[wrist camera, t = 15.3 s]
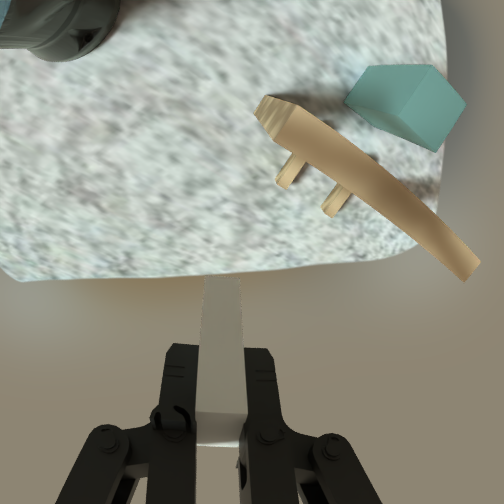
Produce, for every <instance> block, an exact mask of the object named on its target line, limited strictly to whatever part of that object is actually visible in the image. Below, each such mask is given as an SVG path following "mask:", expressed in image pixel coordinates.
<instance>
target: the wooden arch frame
mask: <svg viewBox="0 0 504 504" xmlns="http://www.w3.org/2000/svg"><path fill="white" fill-rule="evenodd" d="M254 115H255V116H256V117H257V119H258V120H259V122H260V123H261V124H262V126H263V127H264V129H265V130H266V131H267V133H268V134H269V136H270V137H271V138H272V140H273V141H274V142H276V143H277V144H279V145H280V146H282V147H284V148H285V149H287V150H289V151H290V152H292V154H291V156H290V157H289V159H288V160H287V162H286V163H285V165H284V166H283V168H282V169H281V171H280V172H279V174H278V175H277V177H276V178H275V181H276V183H277V185H279V186H281V187H282V188H284V189H286V190H287V188H288V187H289V185H290V184H291V182H292V181H293V179H294V178H295V177H296V175H297V174H298V172H299V171H300V169H301V168H302V166H303V165H304V163H305V162H307V163H309V164H310V165H312V166H314V167H315V168H317V169H318V170H320V171H321V172H323V173H324V174H326V175H327V176H329V177H330V178H331V179H333V180H334V181H336V182H337V185H336V186H335V187H334V189H333V190H332V191H331V193H330V194H329V196H328V197H327V198H326V200H325V201H324V202H323V204H322V205H321V209H322V210H323V212H324V213H325V214H326V215H328V216H330V217H331V218H333V217H334V215H335V214H336V213H337V211H338V210H339V209H340V207H341V206H342V205H343V203H344V202H345V201H346V199H347V198H348V197H349V195H350V194H351V193H353V194H354V195H356V196H357V197H359V198H360V199H361V200H363V201H364V202H366V203H367V204H368V205H370V206H371V207H372V208H374V209H375V210H376V211H378V212H379V213H380V214H382V215H383V216H384V217H386V218H387V219H388V220H390V221H391V222H392V223H393V224H395V225H396V226H397V227H399V228H400V229H401V230H402V231H404V232H405V233H406V234H407V235H409V236H410V237H411V238H412V239H414V240H415V241H416V242H417V243H419V244H420V245H421V246H422V247H423V248H425V249H426V250H427V251H428V252H429V253H431V254H432V255H433V256H434V257H436V258H437V259H438V260H439V261H440V262H441V263H442V264H444V265H445V266H446V267H447V268H448V269H449V270H450V271H452V272H453V273H454V274H455V275H456V276H457V277H458V278H459V279H461V280H462V281H463V282H465V281H466V280H467V279H468V277H469V276H470V275H471V274H472V272H473V271H474V270H475V269H476V268H477V266H478V265H479V264H480V263H481V261H480V260H479V259H478V258H477V257H476V256H475V255H474V253H473V252H472V251H471V250H470V249H469V248H468V247H467V246H466V245H465V244H464V243H463V242H462V241H461V240H460V238H459V237H458V236H457V235H456V234H455V233H454V232H453V231H452V230H451V229H450V228H449V227H448V226H447V225H446V224H445V223H444V222H443V221H442V220H441V219H440V218H439V217H438V216H437V215H436V214H435V213H434V212H433V211H432V210H430V209H429V208H428V207H427V206H426V205H425V204H424V203H423V202H422V201H421V200H420V199H419V198H418V197H416V196H415V195H414V194H413V193H412V192H411V191H410V190H409V189H408V188H406V187H405V186H404V185H403V184H402V183H401V182H400V181H398V180H397V179H396V178H395V177H394V176H393V175H391V174H390V173H389V172H388V171H387V170H385V169H384V168H383V167H382V166H381V165H379V164H378V163H377V162H376V161H374V160H373V159H372V158H371V157H369V156H368V155H367V154H366V153H364V152H363V151H362V150H360V149H359V148H358V147H356V146H355V145H354V144H353V143H351V142H350V141H349V140H347V139H346V138H345V137H343V136H342V135H340V134H339V133H338V132H336V131H335V130H334V129H332V128H331V127H329V126H328V125H327V124H325V123H324V122H322V121H321V120H319V119H318V118H316V117H315V116H314V115H312V114H311V113H309V112H308V111H306V110H305V109H303V108H302V107H300V106H298V105H296V104H293V103H290V102H287V101H283V100H280V99H277V98H274V97H270V96H267V95H265V96H264V98H263V99H262V101H261V102H260V104H259V105H258V107H257V108H256V110H255V111H254Z"/></svg>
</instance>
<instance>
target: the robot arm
mask: <svg viewBox="0 0 504 504" xmlns="http://www.w3.org/2000/svg"><path fill="white" fill-rule="evenodd" d="M119 5H120V0H0V49H27V50H29V51H30V52H31V53H33V54H34V55H35V56H37V57H38V58H40V59H42V60H45V61H50V62H67V61H72V60H75V59H77V58H80V57H82V56H84V55H85V54H87V53H89V52H90V51H91V50H93V49H94V48H95V47H96V46H97V45H99V43H100V42H101V41H102V40H103V39H104V38H105V37H106V35H107V34H108V33H109V31H110V30H111V28H112V26H113V24H114V22H115V20H116V17H117V15H118V11H119ZM197 445H200V446H218V447H238V445H239V458H238V461H237V465H236V468H238V472H239V490H240V491H239V492H240V504H299V499H298V493H299V495H300V497H301V499H302V502H303V504H382V502H381V501H380V499H379V497H378V495H377V493H376V491H375V489H374V488H373V486H372V484H371V482H370V480H369V478H368V476H367V475H366V473H365V471H364V469H363V467H362V465H361V463H360V462H359V460H358V458H357V456H356V454H355V453H354V450H353V449H352V447H351V445H350V443H349V442H348V441H347V440H346V439H345V438H344V437H342V436H341V435H339V434H334V433H329V434H324V435H322V436H320V437H318V438H317V437H312V436H308V435H304V434H300V433H297V432H295V431H293V430H292V429H290V428H289V427H288V426H287V425H286V423H285V422H284V420H283V417H282V413H281V406H280V399H279V392H278V385H277V379H276V373H275V365H274V359H273V357H272V356H271V354H270V353H269V351H268V349H266V348H244V345H243V329H242V312H241V294H240V278H232V277H218V276H208V275H205V283H204V294H203V306H202V317H201V331H200V343H199V345H189V344H178V343H173V344H172V346H171V347H170V349H169V350H168V351H167V353H166V358H165V364H164V370H163V377H162V384H161V391H160V398H159V405H157V406H156V408H154V409H153V410H152V412H151V415H150V423H148V424H147V425H145V426H142V427H138V428H131V429H125V430H121V429H120V428H118V427H117V426H114V425H110V424H106V425H100V426H98V427H96V428H94V429H93V431H92V432H91V433H90V434H89V436H88V438H87V440H86V442H85V444H84V446H83V448H82V450H81V452H80V454H79V456H78V458H77V460H76V462H75V464H74V466H73V468H72V470H71V472H70V474H69V476H68V478H67V480H66V482H65V484H64V486H63V488H62V490H61V492H60V494H59V497H58V499H57V501H56V503H55V504H130V502H131V500H132V497H133V495H134V492H135V490H136V487H137V485H138V482H139V480H140V478H143V477H148V481H147V493H146V504H196V451H197ZM297 491H298V492H297Z"/></svg>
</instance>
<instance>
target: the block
mask: <svg viewBox="0 0 504 504" xmlns="http://www.w3.org/2000/svg"><path fill="white" fill-rule="evenodd" d="M343 103H345V104H346V105H347V106H349V107H350V108H351V109H352V110H354V111H355V112H356V113H358V114H359V115H360V116H361V117H363V118H364V119H365V120H366V121H368V122H369V123H370V124H371V125H373V126H374V127H376V128H378V129H381V130H384V131H386V132H389V133H391V134H394V135H396V136H398V137H401V138H403V139H406V140H408V141H410V142H412V143H415V144H417V145H419V146H422V147H424V148H426V149H428V150H430V151H432V152H434V153H436V152H437V150H438V149H439V147H440V146H441V144H442V143H443V141H444V140H445V138H446V137H447V135H448V134H449V132H450V131H451V129H452V128H453V126H454V124H455V123H456V121H457V119H458V118H459V117H460V115H461V113H462V112H463V110H464V109H465V107H466V105H467V104H466V103H465V102H464V100H463V99H462V98H461V97H460V96H459V94H458V93H457V92H456V91H455V89H454V88H453V87H452V86H451V85H450V84H449V83H448V81H447V80H446V79H445V78H444V77H443V76H442V75H441V74H440V73H439V72H438V70H437V69H436V68H435V67H434V66H433V65H379V66H368V68H367V69H366V71H365V72H364V73H363V75H362V76H361V78H360V79H359V81H358V82H357V83H356V85H355V86H354V88H353V89H352V91H351V92H350V93H349V95H348V96H347V98H346V99H345V101H344V102H343Z"/></svg>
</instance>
